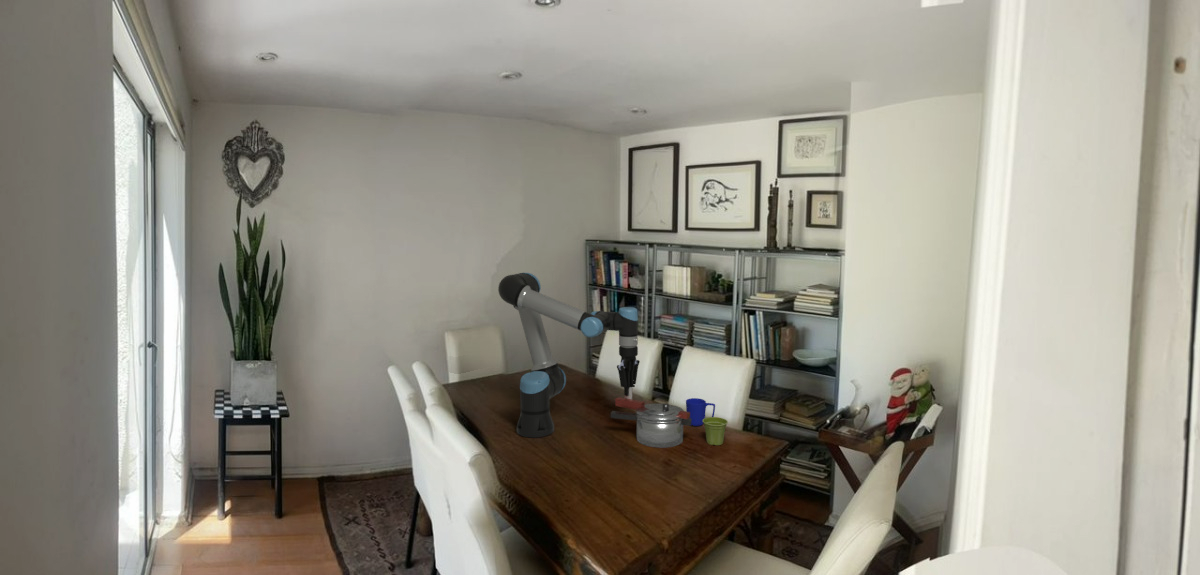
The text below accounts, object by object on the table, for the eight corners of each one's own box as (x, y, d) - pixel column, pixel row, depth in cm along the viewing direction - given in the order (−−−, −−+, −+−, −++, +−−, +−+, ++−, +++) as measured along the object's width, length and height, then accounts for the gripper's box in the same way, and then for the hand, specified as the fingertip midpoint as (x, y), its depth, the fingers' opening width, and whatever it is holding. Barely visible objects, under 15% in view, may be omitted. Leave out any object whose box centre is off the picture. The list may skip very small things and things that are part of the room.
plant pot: (712, 449, 214) (713, 426, 214) (697, 440, 223) (697, 419, 222) (732, 444, 219) (732, 422, 218) (716, 436, 227) (716, 415, 226)
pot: (605, 442, 222) (605, 416, 221) (617, 426, 240) (617, 402, 238) (687, 451, 213) (687, 424, 212) (694, 433, 230) (694, 409, 229)
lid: (604, 411, 227) (604, 401, 226) (628, 399, 242) (628, 389, 242) (677, 426, 210) (677, 415, 209) (698, 412, 225) (698, 402, 225)
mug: (714, 428, 236) (715, 405, 235) (685, 426, 238) (685, 403, 237) (714, 422, 244) (715, 399, 243) (686, 420, 246) (686, 397, 245)
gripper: (626, 349, 224) (626, 408, 227) (645, 344, 234) (644, 400, 237) (611, 347, 229) (611, 405, 231) (630, 341, 239) (629, 397, 241)
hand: (628, 402), depth 234 cm, fingers closed
